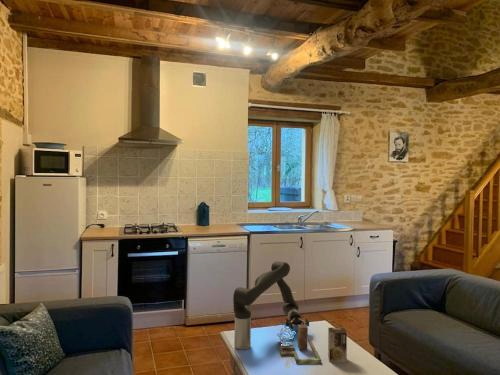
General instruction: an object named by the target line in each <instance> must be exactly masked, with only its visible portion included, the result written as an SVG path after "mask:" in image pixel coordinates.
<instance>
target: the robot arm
mask: <svg viewBox="0 0 500 375" xmlns="http://www.w3.org/2000/svg"><path fill="white" fill-rule="evenodd" d="M290 270H291V266H290V264H289V263H288V262H285V261H274V262H273V263H272V264H271V270H270V271H266V272H263V273H262V274H260V275H258V277H256V279H255V280H254V286H253V287H252V288H245V287H239V286H238V287H236V288H235V290H234V291H233V298H232V299H233V300H232V301H233V302H232V303H233V313H234V338H233V339H234V343H233V344H234V349H237V350H241V351H243V350H248V349H250V348H251V345H252V344H251V343H252V342H251V338H252V337H251V332H252V331H251V329H252V324H251V322H252V312H251V310H250V309H249V308H247V307H249V306H251V305H252V304H254V302H255V301H256V300H257V299H258V298H259V297H260V296H261V295H262V294H263V293H264V292H266V291H267V290H268V289H270V288H271V287H272V286H273V285H275V284H277V286H278V288H279V291H280V294H281V297H282V301H283V303H285V304H284V305H283V306H282V311H283V313H284V314H285V315H286V316H287V317H288V318H285V322H284V323H285V326H286V327H289V328H290V329H291V330H292V329H294V328H293V327H294V326H298V325H307V327H308V328H309V326H310V321H309V319H307V318H305V319H303V317H302V316H301V314H300V312H299V308H300V307H299V305H298V303H297V302H296V300H295V299H294V296H293V292H292V290H291V287H290V286H289V284H287V282H286V280H284V278H285V277H288V275H289V274H290Z"/></svg>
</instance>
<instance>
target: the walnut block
mask: <svg viewBox="0 0 500 375" xmlns="http://www.w3.org/2000/svg"><path fill="white" fill-rule="evenodd" d="M297 326H298V329H297V332H298V333H297V334H298V335H297V347H298V350H299V352H308V345H309V340H308V339H309V338H308V336H309V332H308V331H309V329H308V328H309V326H308V327H307V325H297Z"/></svg>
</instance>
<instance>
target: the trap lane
mask: <svg viewBox="0 0 500 375" xmlns="http://www.w3.org/2000/svg"><path fill="white" fill-rule="evenodd" d="M281 344H282V343H281V341H277V347H278V351H279V354H280V357H293V359H294V361H295V364H296V365H310V364H311V365H313V364H314V365H320V364H321V365H322V358H321V356H320V355H319V353H318V351H317V349H316V347H315V345H314V343H313V340H308V345H309V347H310V349H311V351H312V353H313V355H314V358H299V355H298V353H297V351H296V350H295V346H293V345H290V346H281Z"/></svg>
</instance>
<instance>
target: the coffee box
mask: <svg viewBox="0 0 500 375" xmlns="http://www.w3.org/2000/svg"><path fill="white" fill-rule="evenodd" d="M327 329H328V330H327V331H328V336H327V338H328V339H327V341H328V342H327V344H328V345H327V348H328V349H327V350H328V352H327V357H328V362H329V363H338V364H339V363H344V364H347V363H348V362H347V359H348V358H347V355H348V354H347V350H348V344H347V342H348V339H347V338H348V337H347V334H348V333H347V330H346V328H345V327H327Z"/></svg>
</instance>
